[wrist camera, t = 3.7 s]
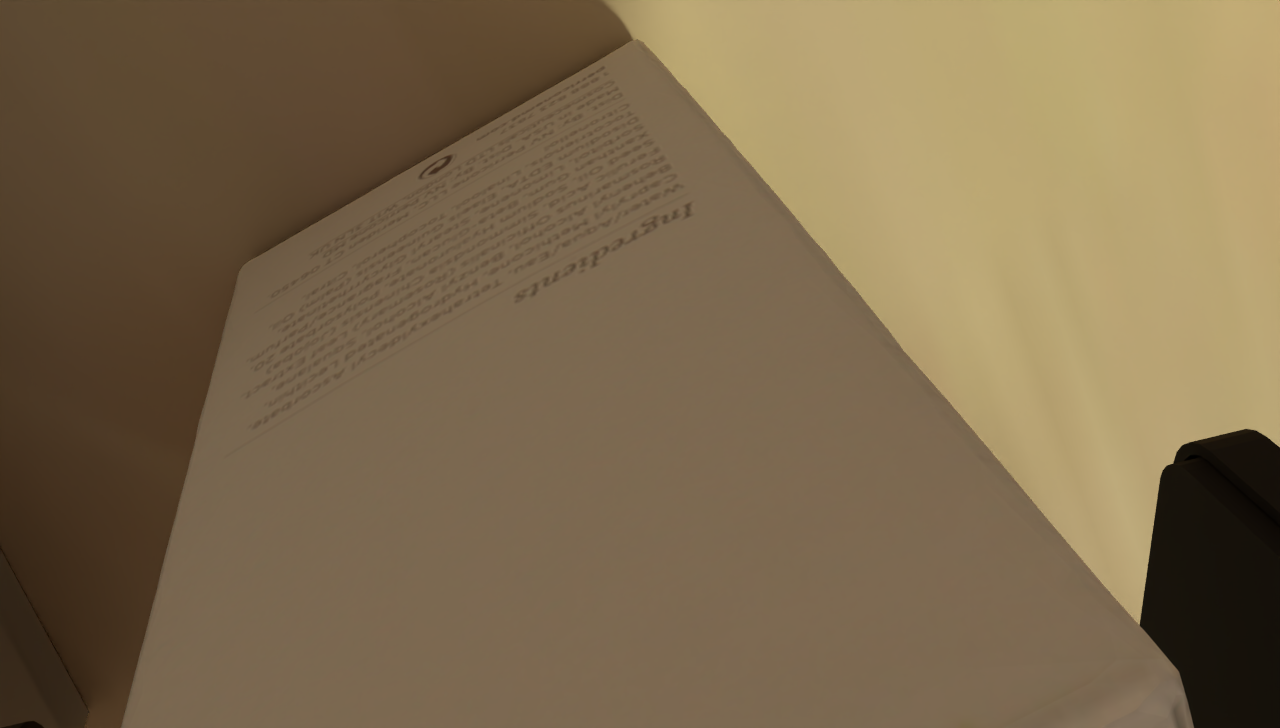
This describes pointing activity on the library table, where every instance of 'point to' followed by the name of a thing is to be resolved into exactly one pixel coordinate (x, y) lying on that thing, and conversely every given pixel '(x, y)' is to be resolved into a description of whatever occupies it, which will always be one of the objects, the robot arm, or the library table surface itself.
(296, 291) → the small box
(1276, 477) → the robot arm
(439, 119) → the library table surface
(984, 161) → the library table surface
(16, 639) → the tray
